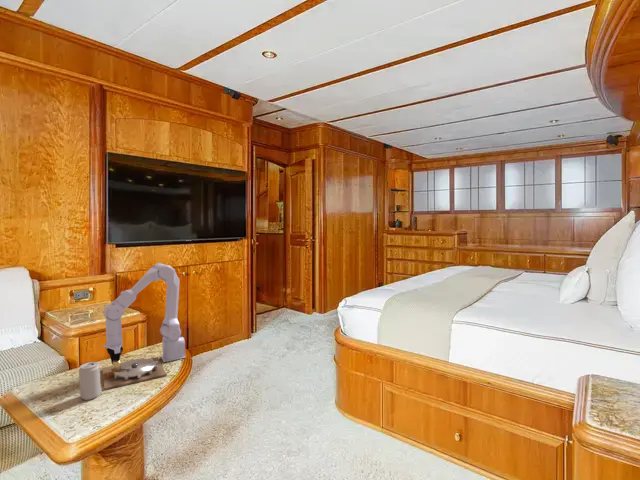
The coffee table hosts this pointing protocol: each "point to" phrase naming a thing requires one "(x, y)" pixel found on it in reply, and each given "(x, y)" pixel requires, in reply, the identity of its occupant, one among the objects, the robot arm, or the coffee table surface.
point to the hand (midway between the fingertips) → (115, 364)
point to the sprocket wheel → (133, 368)
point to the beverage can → (89, 380)
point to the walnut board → (114, 383)
